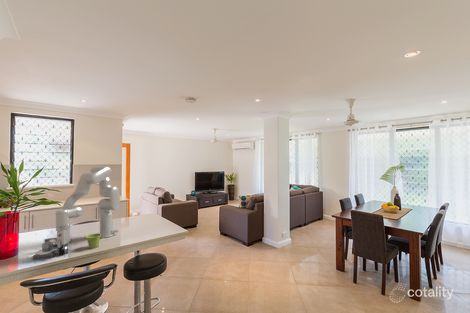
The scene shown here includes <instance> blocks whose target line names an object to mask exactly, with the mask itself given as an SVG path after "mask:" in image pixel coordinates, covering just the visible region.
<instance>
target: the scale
mask: <svg viewBox="0 0 470 313" xmlns="http://www.w3.org/2000/svg"><path fill="white" fill-rule="evenodd" d="M45 242H52V250H50V251H47V252H42V248H41V249H39V250H37V251H36V252H35V253H34V255H33V256H32V260H33V261H35V260H41V259H42V260H43V259H49V258H54V257H55V256H56V255H57V254H59V250H58V247H57V237H49V238H45V239H44V243H45Z"/></svg>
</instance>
